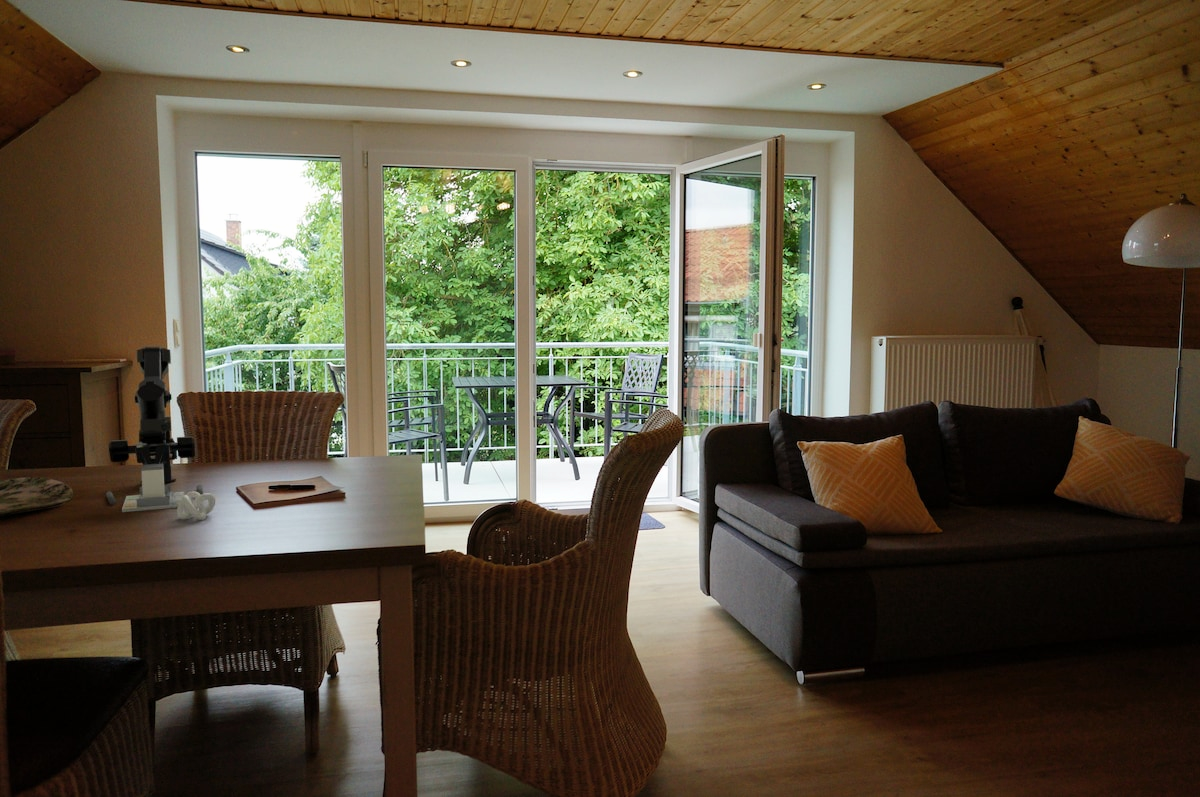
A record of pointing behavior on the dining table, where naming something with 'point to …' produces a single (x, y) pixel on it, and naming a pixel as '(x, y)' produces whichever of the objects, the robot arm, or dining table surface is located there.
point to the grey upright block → (152, 480)
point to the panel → (152, 501)
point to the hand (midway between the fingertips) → (153, 476)
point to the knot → (195, 505)
